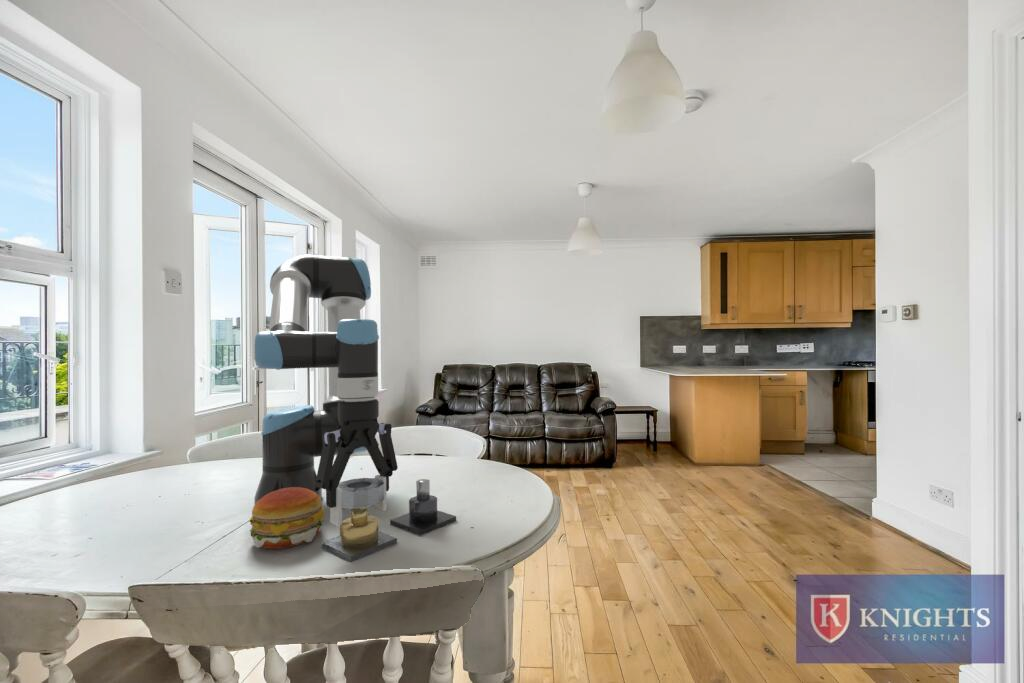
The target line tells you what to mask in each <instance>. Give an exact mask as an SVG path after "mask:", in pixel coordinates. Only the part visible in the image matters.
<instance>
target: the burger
mask: <svg viewBox="0 0 1024 683" xmlns="http://www.w3.org/2000/svg"><path fill="white" fill-rule="evenodd" d="M322 501H323V500H322V498H320V497H319V496H318V495H317V493H316V492H313V491H311V490H309V489H306V488H301V487H289V488H283V489H279V490H276V491H273V492H270V493H269V494H267V495H265V496H264V497H262V498H261V499H260V500H259V501H257V503H256V504H255V505H253V507H252V511H251V517H249V518H250V519H249V523H250V526H252V527H251V529H250V530H249V531H250V536H251V537H252V538H253V542H254V544H255V548H257V549H259V548H264V549H283V548H285V549H286V548H289V547H294V546H297V545H301V544H303V543H306V542H307V543H310V542H312V541H313V539H314V538H315V537H316V536H317V535H318V534H319V532H320V530H321V527H322V526H323V520H324V519H325V517H324V516H325V514H324V513H325V511H324V507H323V506H322Z"/></svg>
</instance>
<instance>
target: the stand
mask: <svg viewBox="0 0 1024 683" xmlns="http://www.w3.org/2000/svg"><path fill="white" fill-rule="evenodd" d="M430 481H431V480H430V479H426V478H422V479H421V478H420V479H417V480H416V481H415V482H416V496H413V497H410V499H409V500H408V501H409V502H408V513H405V514H402V515H400V516H397V517H394V518H391V519H389V525H390V526H393V527H396V528H399V529H402V530H404V531H406V532H410V533H412V534H414V535H418V536H420V537H421V536H424V535H425V534H428V533H430V532H433V531H435V530H438V529H440V528H443V527H445V526H448V525H450V524H452V523H455V522H457V516H456V515H453V514H450V513H447V512H443V511H441V510H438V497H436V495H431V493H430V488H431V487H430V485H431V484H430Z"/></svg>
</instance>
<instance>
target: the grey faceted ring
mask: <svg viewBox="0 0 1024 683" xmlns="http://www.w3.org/2000/svg"><path fill="white" fill-rule="evenodd" d="M337 488H340V489H342V509H352V508H353V509H354V508H362V507H367V508H368V507H370V506H373V505H375V504H378V503H380V502H381V501H382V500H384V482H383V480H380V479H377V478H375V477H360V478H352V479H348V480H343V481H340V482H339V485H338V487H337Z"/></svg>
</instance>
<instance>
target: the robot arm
mask: <svg viewBox="0 0 1024 683" xmlns="http://www.w3.org/2000/svg"><path fill="white" fill-rule="evenodd" d="M371 285H372V284H371V277H370V271H369V267H368V265H367V263H366V261H365V260H364V259H362V258H355V257H350V256H345V257H344V256H330V255H313V254H303V255H302V254H301V255H298V256H294V257H293V258H290V259H288V260H286V261H285V262H283V263H281V264H280V265H279V266H278V267H277V268H276V269H275V270H274V271H273V273H272V275H271V278H270V282H269V289H270V292H271V294H272V302H271V308H270V310H271V311H270V317H269V318H270V319H269V326H268V330H266V331H259V332H257V333H256V334H255V338H254V362H255V365H256V367H258V368H259V369H266V370H276V371H279V370H286V369H287V370H289V369H290V370H291V369H293V370H294V369H316V368H319V369H321V368H326V369H327V368H328V371H327V372H328V397H327V398H326V399H325V400H324V401H323V402H322V409H321V410H315V408H314V406H313V405H312V404H311V405H310V404H306V405H298V406H297V405H296V406H290V407H286V408H280V409H277V410H273V411H270V412H269V413H267V414H266V415H264V417H263V419H262V427H261V428H262V429H261V430H262V431H261V435H262V475H261V477H260V480H259V483H258V485H257V489H256V492H255V495H254V502H253V503H254V505H255V504H256V503H257V501H259V500H260V499H261V498H262V497H264V496H265V495H267V494H269V493H270V492H273V491H276V490H279V489H283V488H289V487H301V488H306V489H309V490H311V491H313V492H316V493H317V495H318V496H319V497H320V498H321V499H322V498H323V496H322V495H323V493H322V492H323V490H325V496H326V498H325V504H326V507H328V508H329V516H330V517H329V522H330V524H333V525H335V526H338V527H340V525H342V521H343V508H342V489H340V488H337V487H338V485H339V483H340V482H341V480H342V477H343V474H344V472H345V470H346V468H347V466H348V463H349V461H350V458H351V455H353V454H355V453H356V454H357V453H362V452H368V454H369V456H370V459H371V460H372V462H373V465H374V467H375V469H376V471H377V473H378V474H376V475H374V478H377V479H380V480H383V482H384V500H382V501H381V502H380V503H378V504H375V506H374V508H375V509H377V510H380V511H383V512H384V511H387V492H389V490H390V477H392V476H393V474H394V473H393V472H396V471H397V470H398V461H397V458H396V453H395V448H394V444H393V439H392V428H393V426H392V423H387V422H381V423H379V421H378V417H379V414H380V413H379V412H380V411H379V408H380V407H379V405H380V403H379V400H378V399H377V397H379V369H378V368H379V365H378V364H379V339H380V335H379V330H378V329H379V328H378V323H377V321H376V320H373V319H367V318H366V319H365V318H364V319H363V318H361V310H362V309H363V308H365V306H366V303H367V302H366V301H368V300H370V299H371V297H372V288H371ZM308 298H310V299H311V298H313V299H321V300H320V301H321V302H320V304H321V306H322V307H324V309H326V311H327V331H308ZM377 433H378V435H379V436H378V437H379V442H380V447H381V448H380V447H379V443H378V440H377V438H376V435H377ZM317 457H320V458H319V464H318V468H317V471H316V469H315V458H317ZM254 505H253V506H254Z"/></svg>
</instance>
